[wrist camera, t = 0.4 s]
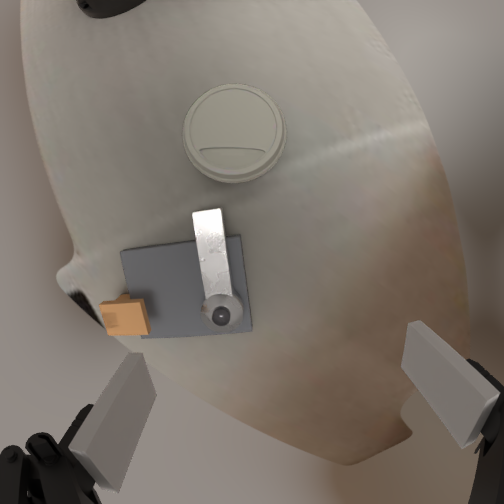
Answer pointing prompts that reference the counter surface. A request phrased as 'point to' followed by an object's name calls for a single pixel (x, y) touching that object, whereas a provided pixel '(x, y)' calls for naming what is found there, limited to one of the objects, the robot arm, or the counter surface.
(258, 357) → the counter surface
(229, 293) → the link
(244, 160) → the coffee cup
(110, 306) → the block
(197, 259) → the board
